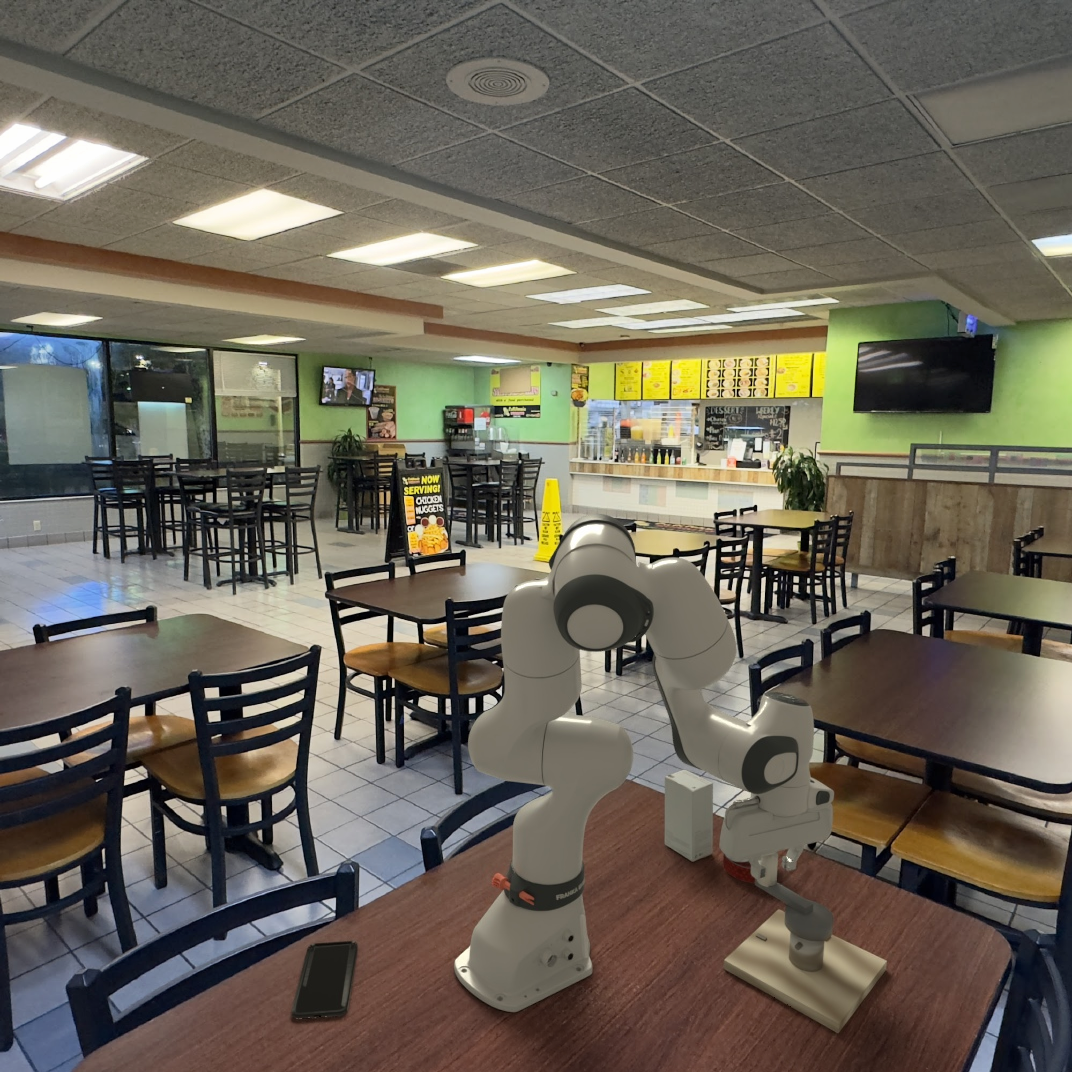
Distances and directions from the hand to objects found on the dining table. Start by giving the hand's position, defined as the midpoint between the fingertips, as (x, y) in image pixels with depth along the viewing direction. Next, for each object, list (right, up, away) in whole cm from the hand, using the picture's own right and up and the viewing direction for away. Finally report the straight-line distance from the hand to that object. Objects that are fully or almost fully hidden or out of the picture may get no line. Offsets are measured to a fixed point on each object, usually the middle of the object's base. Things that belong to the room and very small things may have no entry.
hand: (773, 872), depth 124 cm
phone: (-70, -13, -9) cm, 72 cm away
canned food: (+2, -9, +22) cm, 24 cm away
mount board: (+3, -13, -5) cm, 14 cm away
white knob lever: (+2, -5, -4) cm, 7 cm away
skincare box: (-8, -8, +28) cm, 31 cm away
